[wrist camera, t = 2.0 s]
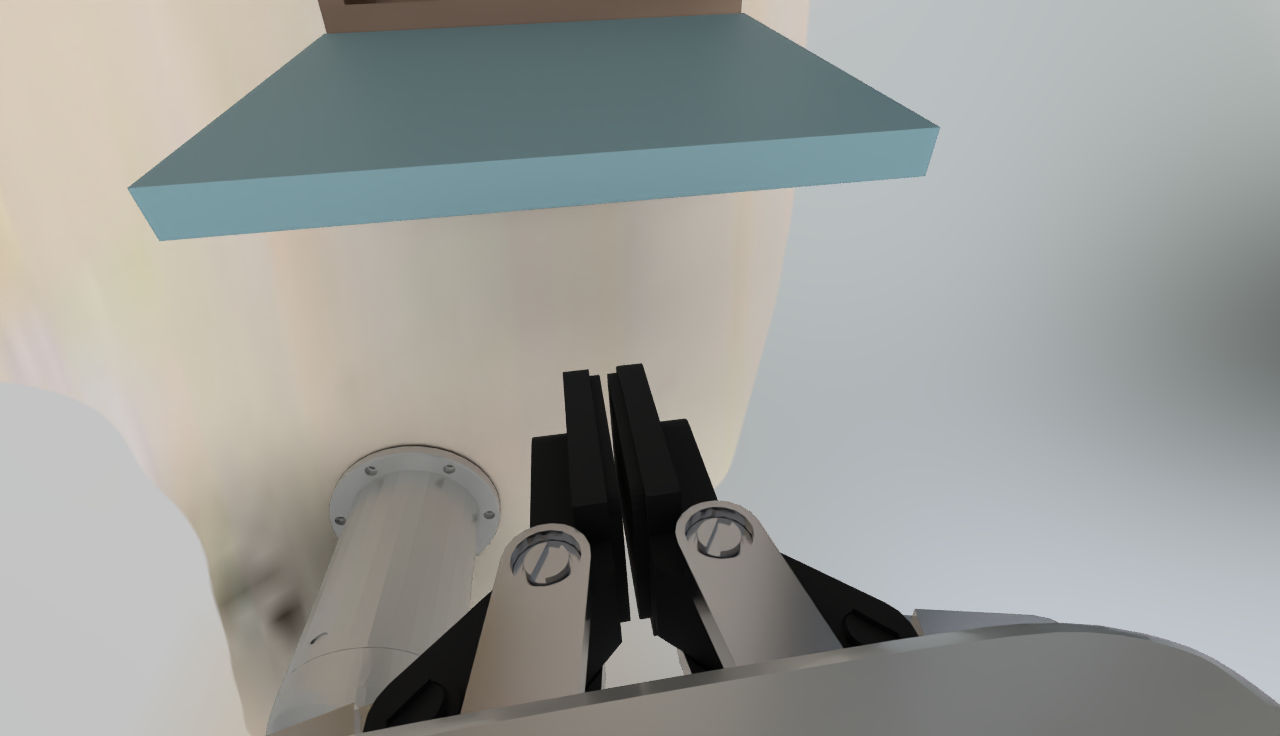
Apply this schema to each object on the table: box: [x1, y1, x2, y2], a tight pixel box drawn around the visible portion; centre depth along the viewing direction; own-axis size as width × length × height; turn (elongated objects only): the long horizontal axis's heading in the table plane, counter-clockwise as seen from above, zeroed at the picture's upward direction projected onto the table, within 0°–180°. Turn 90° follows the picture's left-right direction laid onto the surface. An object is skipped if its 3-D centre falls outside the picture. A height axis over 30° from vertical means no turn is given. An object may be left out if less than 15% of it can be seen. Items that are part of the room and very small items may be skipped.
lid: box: [127, 13, 940, 241], centre depth 19 cm, size 16×18×1 cm
